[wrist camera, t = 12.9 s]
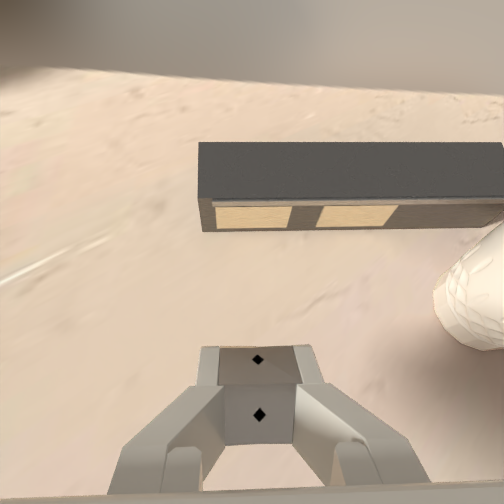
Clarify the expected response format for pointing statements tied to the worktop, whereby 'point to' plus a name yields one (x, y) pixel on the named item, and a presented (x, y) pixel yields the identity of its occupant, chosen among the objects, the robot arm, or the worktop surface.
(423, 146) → the long dark grey beam
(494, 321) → the white cup
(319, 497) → the robot arm
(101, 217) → the worktop surface
